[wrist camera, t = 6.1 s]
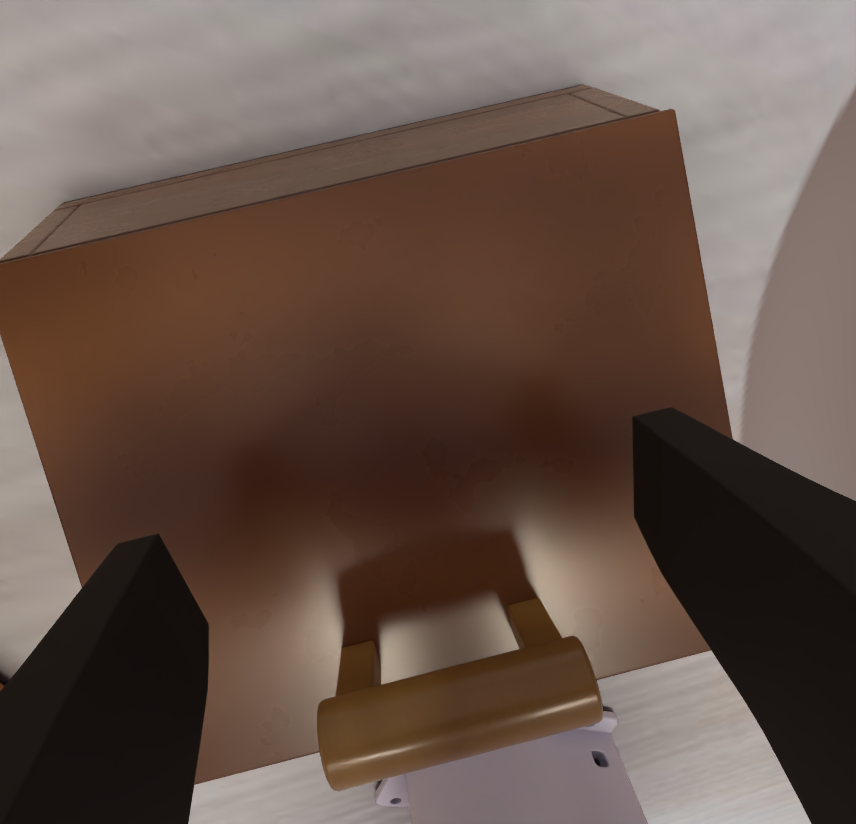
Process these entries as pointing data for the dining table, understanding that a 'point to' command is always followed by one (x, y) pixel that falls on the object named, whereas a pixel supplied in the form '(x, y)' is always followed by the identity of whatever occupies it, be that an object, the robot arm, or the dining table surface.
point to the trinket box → (324, 167)
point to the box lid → (388, 440)
